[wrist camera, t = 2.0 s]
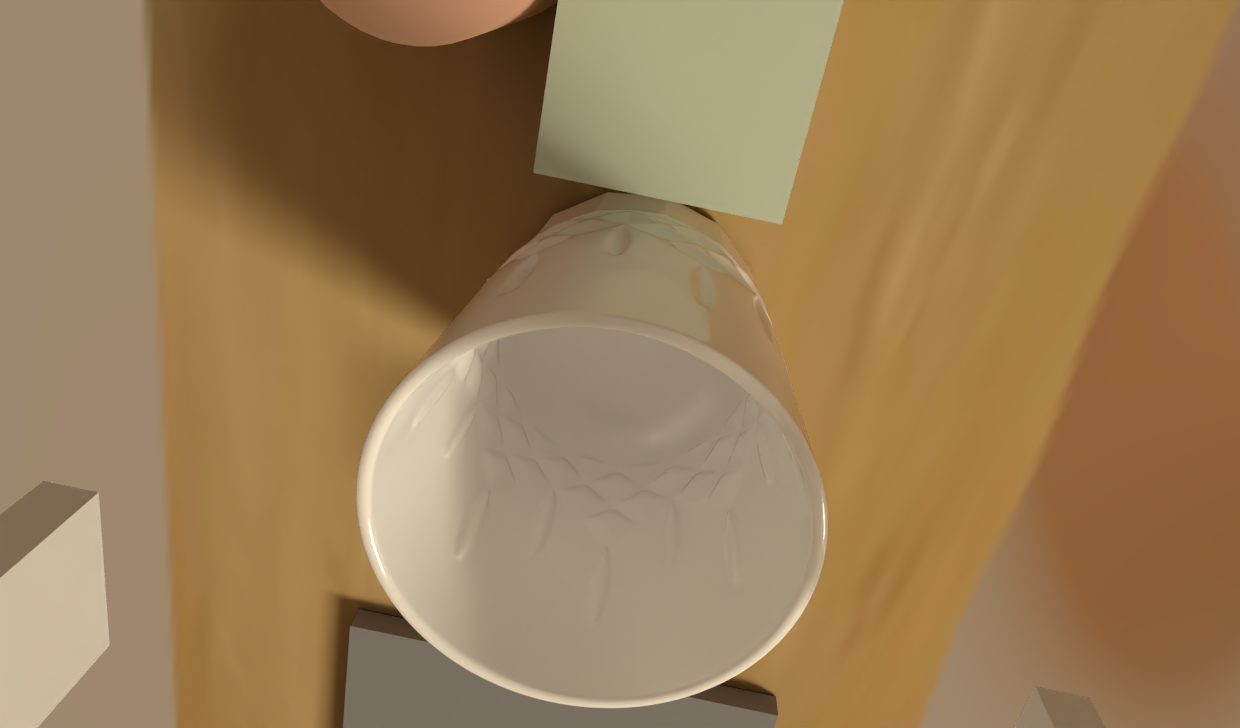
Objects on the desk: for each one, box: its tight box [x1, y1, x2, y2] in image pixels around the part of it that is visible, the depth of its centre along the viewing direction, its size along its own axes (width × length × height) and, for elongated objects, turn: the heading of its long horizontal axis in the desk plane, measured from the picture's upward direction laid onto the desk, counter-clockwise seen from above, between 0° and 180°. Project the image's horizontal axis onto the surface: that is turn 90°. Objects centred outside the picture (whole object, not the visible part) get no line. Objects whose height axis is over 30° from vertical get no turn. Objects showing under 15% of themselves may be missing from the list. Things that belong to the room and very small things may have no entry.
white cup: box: [356, 192, 828, 708], centre depth 19 cm, size 8×8×10 cm
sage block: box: [533, 0, 844, 224], centre depth 18 cm, size 5×5×5 cm
